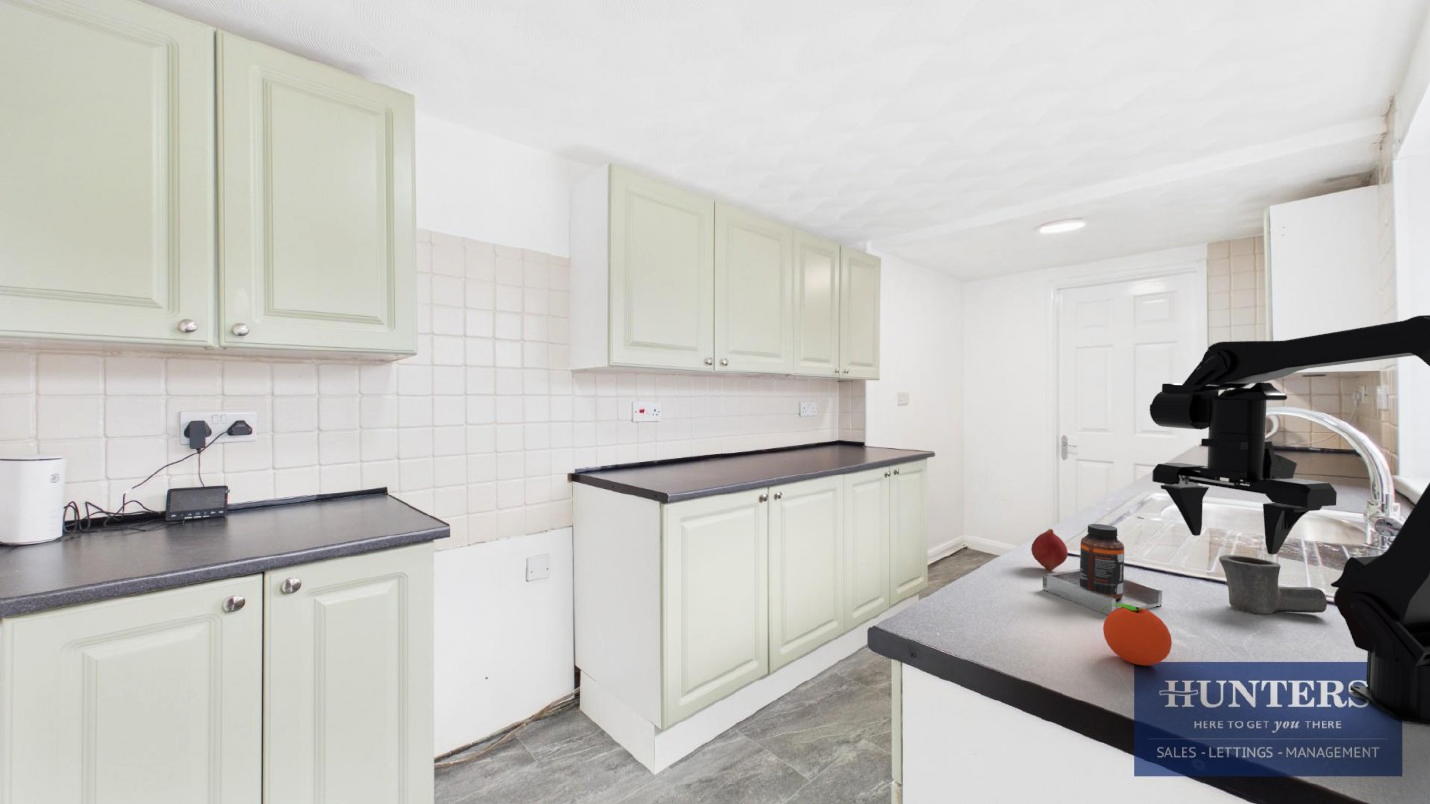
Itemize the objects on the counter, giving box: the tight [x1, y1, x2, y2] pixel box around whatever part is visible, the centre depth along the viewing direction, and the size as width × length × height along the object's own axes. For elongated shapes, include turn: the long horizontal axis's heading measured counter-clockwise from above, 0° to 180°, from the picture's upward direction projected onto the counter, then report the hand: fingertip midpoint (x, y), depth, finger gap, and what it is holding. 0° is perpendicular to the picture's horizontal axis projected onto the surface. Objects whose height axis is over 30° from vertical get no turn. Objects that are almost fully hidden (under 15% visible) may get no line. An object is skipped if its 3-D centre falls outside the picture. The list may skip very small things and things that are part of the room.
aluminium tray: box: [1042, 568, 1163, 616], centre depth 91 cm, size 12×12×3 cm
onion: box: [1030, 528, 1069, 571], centre depth 105 cm, size 6×6×8 cm
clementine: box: [1099, 604, 1173, 667], centre depth 71 cm, size 8×7×7 cm
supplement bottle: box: [1079, 523, 1125, 600], centre depth 91 cm, size 6×6×11 cm
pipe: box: [1218, 554, 1328, 615], centre depth 86 cm, size 6×13×8 cm, turn 77°
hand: (1232, 544), depth 77 cm, fingers open, 9 cm apart
